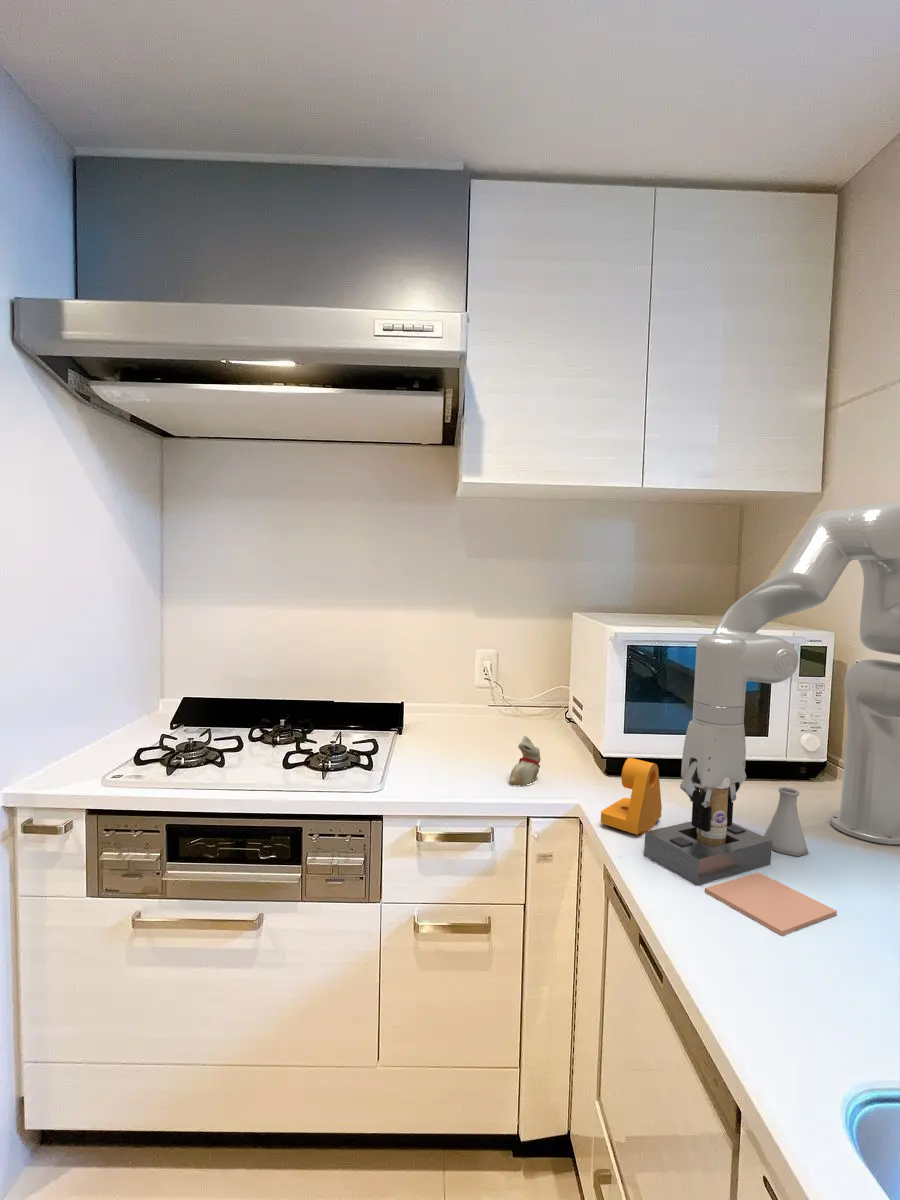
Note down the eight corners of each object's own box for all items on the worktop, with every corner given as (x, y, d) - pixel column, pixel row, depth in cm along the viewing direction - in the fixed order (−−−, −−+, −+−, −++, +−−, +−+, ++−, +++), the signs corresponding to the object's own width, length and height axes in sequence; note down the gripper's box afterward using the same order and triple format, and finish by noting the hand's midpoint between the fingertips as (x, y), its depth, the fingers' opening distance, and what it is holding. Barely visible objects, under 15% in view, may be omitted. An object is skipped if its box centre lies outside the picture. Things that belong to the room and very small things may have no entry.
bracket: (623, 810, 123) (627, 749, 123) (660, 821, 119) (664, 757, 118) (598, 826, 115) (602, 760, 114) (637, 839, 111) (641, 770, 110)
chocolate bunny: (546, 785, 136) (549, 738, 135) (512, 787, 134) (514, 739, 133) (535, 776, 141) (538, 731, 141) (502, 778, 139) (504, 732, 138)
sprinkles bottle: (710, 862, 101) (715, 778, 100) (688, 850, 105) (693, 769, 104) (732, 858, 103) (737, 775, 102) (709, 846, 107) (714, 766, 106)
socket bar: (714, 838, 112) (716, 814, 112) (770, 864, 103) (772, 838, 103) (643, 855, 104) (645, 830, 104) (697, 885, 95) (699, 858, 95)
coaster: (758, 875, 99) (758, 872, 99) (836, 915, 88) (836, 910, 88) (704, 892, 93) (704, 887, 93) (781, 935, 83) (782, 931, 83)
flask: (766, 834, 115) (770, 779, 115) (812, 847, 110) (817, 790, 110) (756, 847, 109) (760, 789, 109) (803, 861, 105) (808, 801, 104)
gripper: (732, 704, 110) (726, 809, 111) (661, 712, 101) (655, 826, 103) (773, 714, 103) (766, 825, 104) (700, 724, 95) (694, 845, 96)
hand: (711, 824), depth 103 cm, fingers closed on sprinkles bottle, 4 cm apart
